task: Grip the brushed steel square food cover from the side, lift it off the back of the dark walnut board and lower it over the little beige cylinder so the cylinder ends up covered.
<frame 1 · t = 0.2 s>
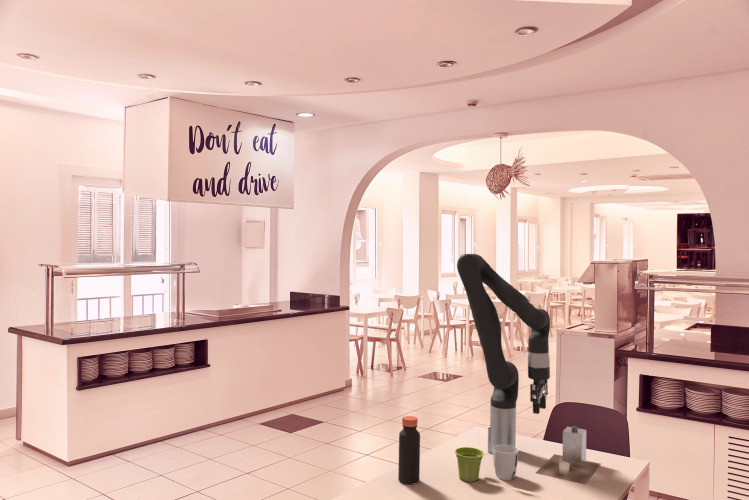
hand: (539, 410, 203), 18 cm above the table, tool pointing down, fingers open, 8 cm apart
walnut board: (568, 471, 193), on the table
steel cover: (574, 462, 199), point 1 cm above the table, touching walnut board
plant pot: (468, 479, 185), on the table
beige cylinder: (564, 473, 188), point 1 cm above the table, touching walnut board
bottle: (408, 481, 182), on the table
cup: (505, 480, 184), on the table
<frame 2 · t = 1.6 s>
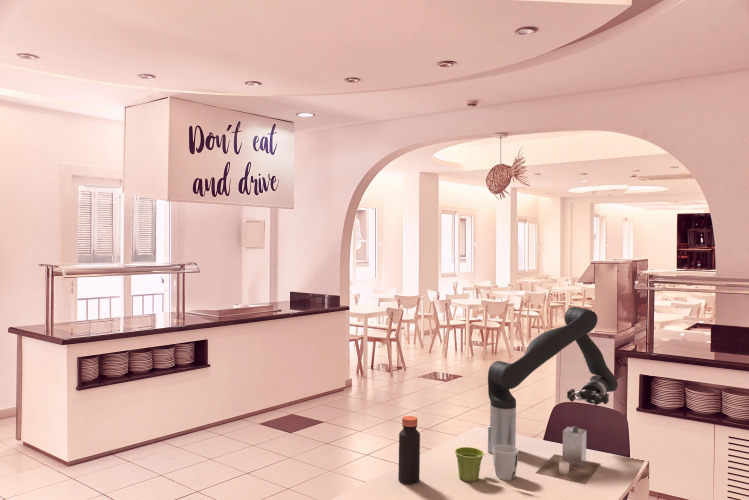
hand: (583, 400, 208), 20 cm above the table, tool horizontal, fingers open, 8 cm apart
nothing on the table moved.
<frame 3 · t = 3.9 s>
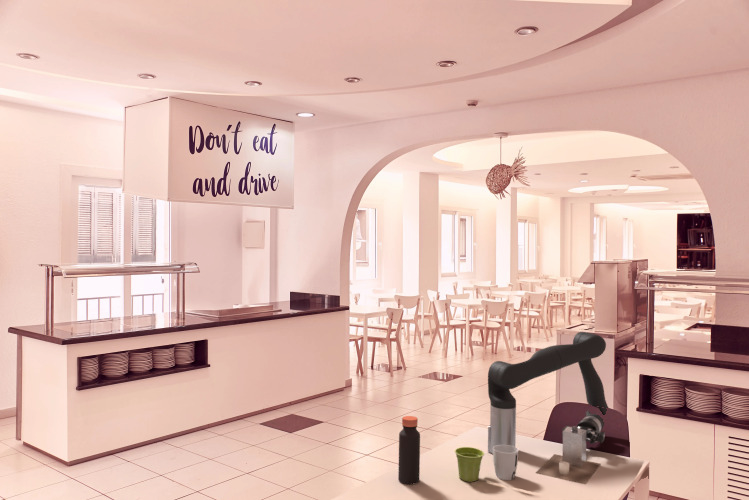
hand: (578, 438, 204), 7 cm above the table, tool horizontal, fingers open, 8 cm apart
nothing on the table moved.
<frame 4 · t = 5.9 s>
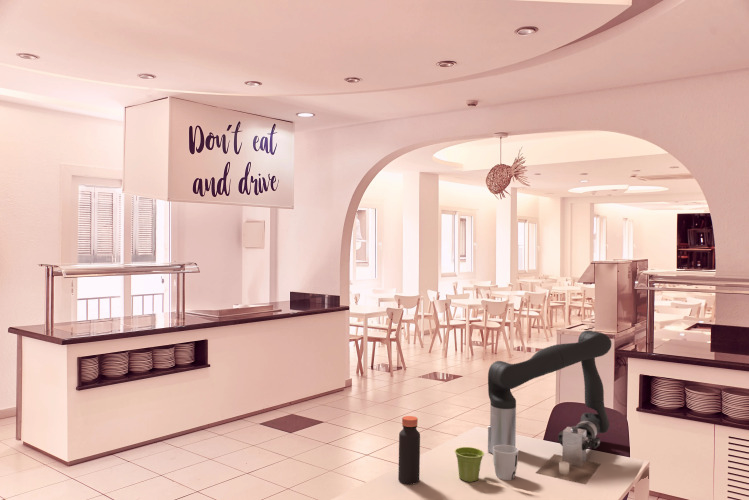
hand: (572, 445, 197), 7 cm above the table, tool horizontal, fingers closed on steel cover, 6 cm apart
steel cover: (574, 462, 199), point 1 cm above the table, touching gripper, walnut board
everything else where it was.
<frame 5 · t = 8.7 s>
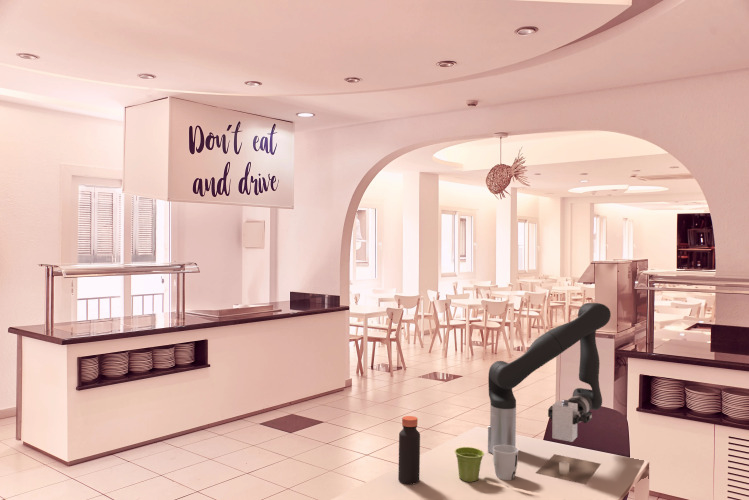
hand: (563, 419, 186), 19 cm above the table, tool horizontal, fingers closed on steel cover, 6 cm apart
steel cover: (564, 437, 188), point 13 cm above the table, touching gripper
everything else where it was.
when the fingers open (8 cm above the table, at t = 11.9 s): steel cover stays where it is, resting on walnut board.
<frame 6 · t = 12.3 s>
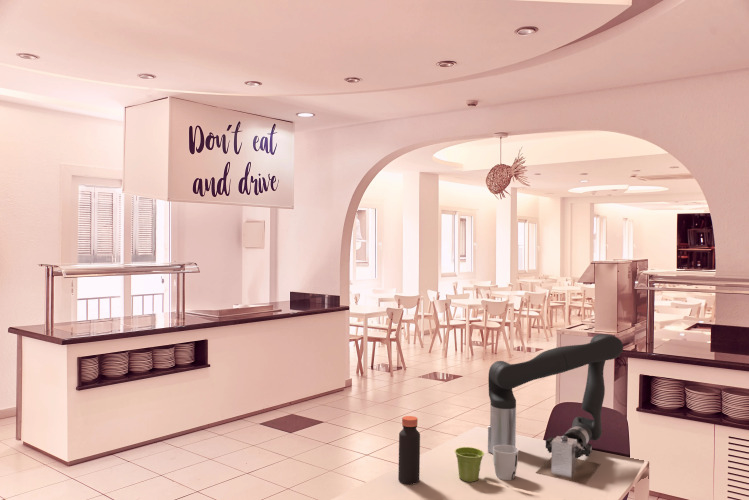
hand: (562, 452, 186), 9 cm above the table, tool horizontal, fingers open, 8 cm apart
steel cover: (563, 473, 188), point 1 cm above the table, touching walnut board
everything else where it was.
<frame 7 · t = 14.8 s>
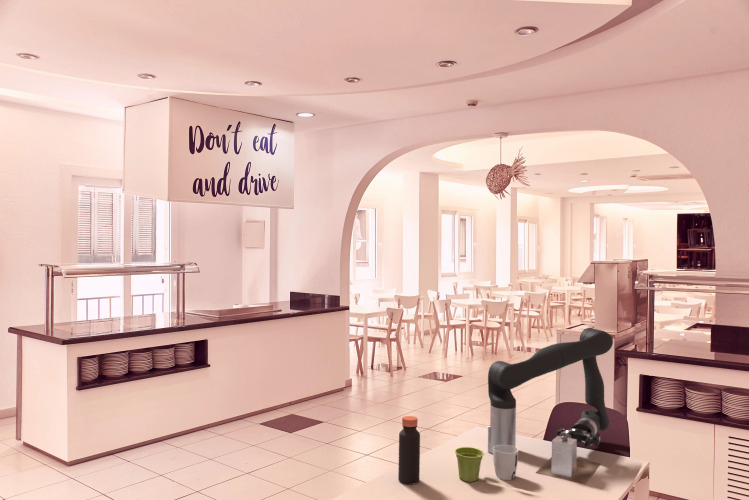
hand: (573, 441, 197), 9 cm above the table, tool horizontal, fingers open, 8 cm apart
nothing on the table moved.
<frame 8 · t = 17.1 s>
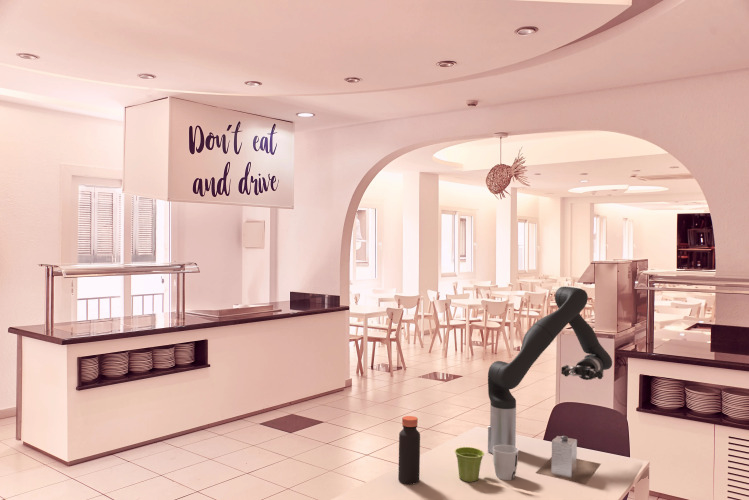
hand: (577, 375, 205), 30 cm above the table, tool horizontal, fingers open, 8 cm apart
nothing on the table moved.
at the end: steel cover 0.1 cm from the beige cylinder (horizontally); steel cover point 1.0 cm above the table; steel cover tilted 0° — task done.
